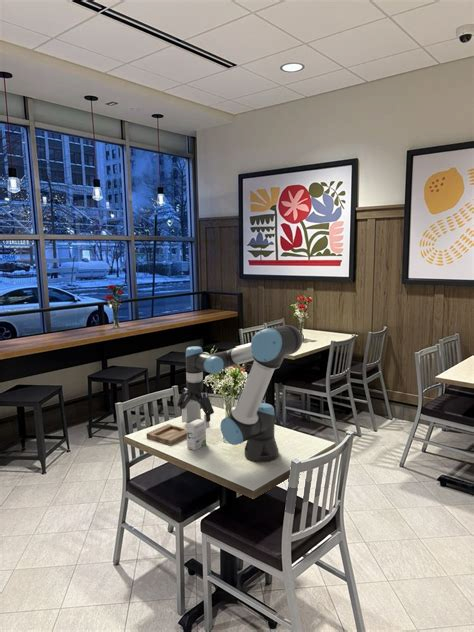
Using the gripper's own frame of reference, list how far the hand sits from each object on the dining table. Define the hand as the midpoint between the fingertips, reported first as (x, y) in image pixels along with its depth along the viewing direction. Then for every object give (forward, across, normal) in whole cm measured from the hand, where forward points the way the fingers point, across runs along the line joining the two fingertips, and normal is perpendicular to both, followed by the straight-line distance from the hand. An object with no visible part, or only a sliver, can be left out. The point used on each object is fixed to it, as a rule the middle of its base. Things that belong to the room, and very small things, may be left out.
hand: (195, 424), depth 211 cm
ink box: (+10, -1, 0) cm, 11 cm away
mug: (+11, +23, -23) cm, 35 cm away
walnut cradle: (+10, +18, -1) cm, 21 cm away
